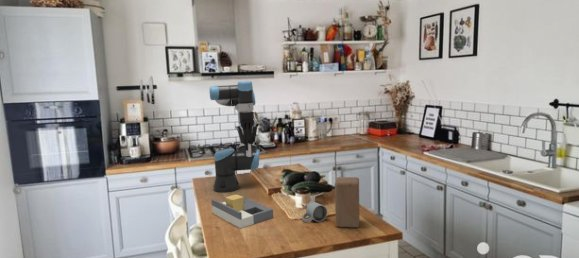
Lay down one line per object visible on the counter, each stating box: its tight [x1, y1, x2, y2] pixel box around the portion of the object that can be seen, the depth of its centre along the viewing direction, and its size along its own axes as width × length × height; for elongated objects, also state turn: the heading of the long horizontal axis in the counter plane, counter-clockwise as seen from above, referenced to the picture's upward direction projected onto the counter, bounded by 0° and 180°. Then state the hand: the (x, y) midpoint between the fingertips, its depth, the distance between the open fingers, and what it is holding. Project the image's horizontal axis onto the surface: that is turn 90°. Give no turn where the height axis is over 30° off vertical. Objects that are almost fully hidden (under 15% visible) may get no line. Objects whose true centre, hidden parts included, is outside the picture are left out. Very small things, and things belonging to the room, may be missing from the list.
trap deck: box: [211, 196, 274, 229], centre depth 184 cm, size 18×26×7 cm
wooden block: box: [334, 176, 360, 228], centre depth 168 cm, size 10×10×20 cm
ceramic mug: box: [301, 201, 328, 223], centre depth 175 cm, size 11×8×8 cm
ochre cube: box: [225, 194, 244, 211], centre depth 181 cm, size 6×6×6 cm
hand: (248, 156), depth 201 cm, fingers closed
